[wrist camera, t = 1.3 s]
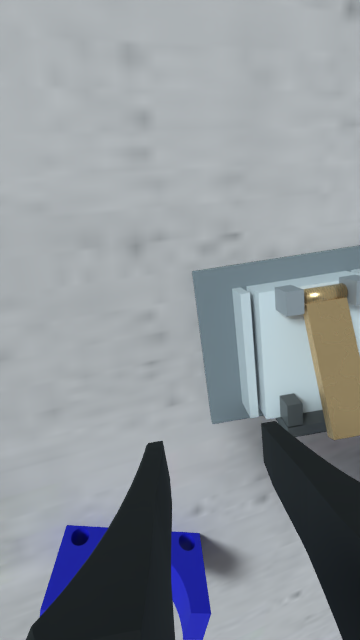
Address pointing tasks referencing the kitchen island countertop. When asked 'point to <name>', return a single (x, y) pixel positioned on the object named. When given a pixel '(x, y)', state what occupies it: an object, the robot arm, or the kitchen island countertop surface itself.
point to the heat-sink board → (223, 317)
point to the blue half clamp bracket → (184, 574)
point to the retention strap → (334, 358)
